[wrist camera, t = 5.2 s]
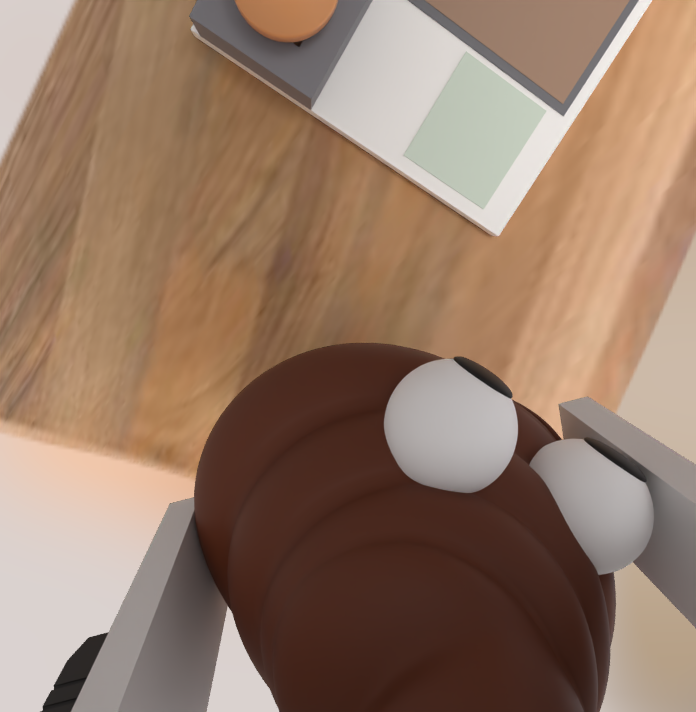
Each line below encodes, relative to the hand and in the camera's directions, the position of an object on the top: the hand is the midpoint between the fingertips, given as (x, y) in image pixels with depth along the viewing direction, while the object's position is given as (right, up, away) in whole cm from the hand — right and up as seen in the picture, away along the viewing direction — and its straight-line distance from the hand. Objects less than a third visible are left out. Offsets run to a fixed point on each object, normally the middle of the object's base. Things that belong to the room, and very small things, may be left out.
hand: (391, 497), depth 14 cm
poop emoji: (0, 0, +1) cm, 1 cm away
